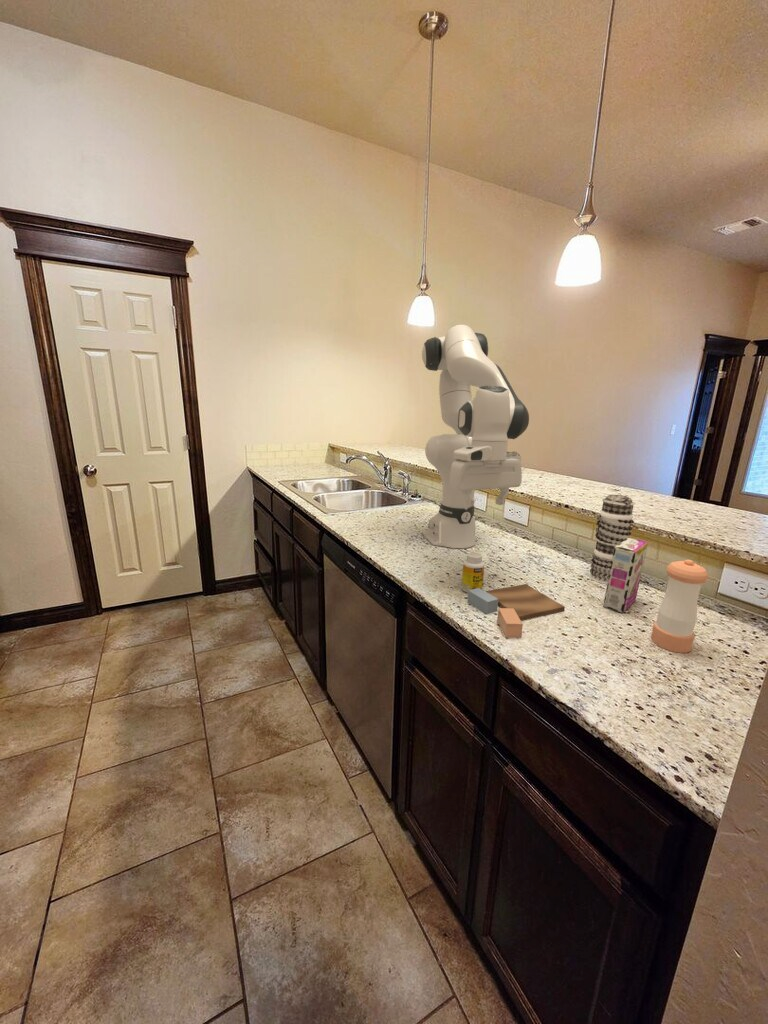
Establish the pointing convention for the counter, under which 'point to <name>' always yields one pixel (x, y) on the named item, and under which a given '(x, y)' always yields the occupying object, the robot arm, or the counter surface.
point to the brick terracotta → (509, 622)
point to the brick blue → (482, 600)
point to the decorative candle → (610, 534)
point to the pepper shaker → (679, 607)
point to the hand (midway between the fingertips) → (484, 505)
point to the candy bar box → (625, 574)
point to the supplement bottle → (472, 572)
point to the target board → (526, 601)
